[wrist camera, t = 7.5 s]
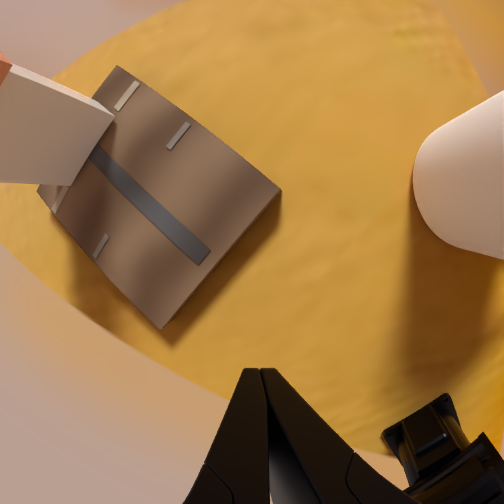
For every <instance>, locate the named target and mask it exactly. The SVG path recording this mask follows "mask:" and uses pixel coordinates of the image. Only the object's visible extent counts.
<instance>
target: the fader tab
mask: <svg viewBox="0 0 504 504" xmlns="http://www.w3.org/2000/svg"><path fill="white" fill-rule="evenodd" d="M114 118H115V116H114V115H113V114H112V113H111V112H109V111H108V110H107V109H106V108H105V107H103V106H102V105H101V104H100V103H99V102H97V101H95V100H93V99H91V98H89V97H87V96H85V95H83V94H80V93H78V92H76V91H74V90H72V89H70V88H68V87H65V86H63V85H61V84H59V83H57V82H54V81H52V80H50V79H48V78H45V77H43V76H41V75H38V74H36V73H33V72H31V71H29V70H26V69H24V68H22V67H19V66H16V65H14V64H12V63H10V61H9V60H8V59H7V58H6V57H5V56H4V55H3V54H2V52H1V51H0V182H2V183H26V184H44V185H60V186H71V184H72V183H73V181H74V179H75V177H76V176H77V174H78V172H79V171H80V169H81V167H82V166H83V164H84V162H85V161H86V159H87V158H88V156H89V154H90V153H91V151H92V150H93V148H94V147H95V145H96V144H97V142H98V141H99V139H100V138H101V136H102V135H103V133H104V132H105V130H106V129H107V128H108V126H109V125H110V123H111V122H112V120H113V119H114Z"/></svg>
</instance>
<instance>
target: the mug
mask: <svg viewBox="0 0 504 504" xmlns="http://www.w3.org/2000/svg"><path fill="white" fill-rule="evenodd" d="M413 190H414V195H415V200H416V203H417V206H418V209H419V211H420V213H421V215H422V217H423V219H424V221H425V222H426V224H427V225H428V227H429V228H430V229H431V230H432V231H433V232H434V234H436V235H437V236H438V237H439V238H440V239H442V240H443V241H445V242H446V243H448V244H450V245H452V246H455V247H458V248H461V249H465V250H469V251H473V252H476V253H480V254H484V255H488V256H491V257H495V258H499V259H502V260H504V90H503V91H501V92H500V93H498V94H496V95H494V96H493V97H491V98H489V99H487V100H486V101H484V102H482V103H480V104H479V105H477V106H475V107H474V108H472V109H470V110H468V111H467V112H465V113H463V114H461V115H460V116H458V117H456V118H455V119H453V120H451V121H449V122H448V123H446V124H444V125H442V126H441V127H439V128H438V129H436V130H435V131H434V132H432V133H431V134H430V135H429V136H428V137H427V138H426V139H425V141H424V142H423V144H422V145H421V147H420V149H419V151H418V153H417V156H416V158H415V162H414V168H413Z"/></svg>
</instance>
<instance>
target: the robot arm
mask: <svg viewBox="0 0 504 504" xmlns="http://www.w3.org/2000/svg"><path fill="white" fill-rule="evenodd" d="M445 398H446V399H445ZM444 399H445V400H444ZM388 433H389V434H388ZM383 436H384V438H385V440H386V441H387V443H388V444H389V446H390V447H391V449H392V451H393V452H394V454H395V455H396V457H397V458H398V460H399V462H400V463H401V465H402V466H403V468H404V471H405V474H406V477H407V480H408V483H409V486H410V487H408V488H406V489H405V490H403V491H402V490H400V489H399V488H397V487H396V486H395V485H393V484H392V483H391V482H389V481H388V480H386V479H385V478H384V477H383V476H381V475H380V474H379V473H378V472H377V471H375V470H374V469H373V468H372V467H371V466H370V465H369V464H368V463H366V462H365V461H364V460H363V459H362V458H361V457H360V456H359V455H358V454H357V453H356V452H355V453H354V450H353V449H352V448H351V447H350V446H349V445H348V444H347V443H346V442H345V441H344V440H343V439H342V438H341V437H340V436H339V435H338V434H337V433H336V432H335V431H334V430H333V429H332V428H331V427H330V426H329V425H328V424H327V423H326V422H325V421H324V420H323V419H322V418H321V417H320V416H319V415H318V414H317V413H316V412H315V411H314V410H313V408H312V407H311V406H310V405H309V404H308V403H307V402H306V401H305V400H304V399H303V398H302V397H301V396H300V395H299V394H298V392H297V391H296V390H295V389H294V388H293V387H292V386H291V385H290V384H289V383H288V382H287V380H286V379H285V378H284V377H283V376H282V375H281V374H280V373H279V372H278V371H277V370H276V369H275V368H261V369H260V370H259V369H258V368H244V369H243V371H242V373H241V376H240V378H239V381H238V383H237V386H236V388H235V391H234V393H233V396H232V398H231V400H230V403H229V405H228V408H227V410H226V412H225V415H224V417H223V420H222V422H221V424H220V427H219V429H218V431H217V434H216V436H215V439H214V441H213V443H212V445H211V448H210V450H209V452H208V455H207V457H206V459H205V461H204V464H203V466H202V468H201V470H200V472H199V474H198V477H197V479H196V480H195V483H194V485H193V487H192V488H191V490H190V492H189V494H188V496H187V497H186V499H185V501H184V502H183V504H270V493H271V497H272V501H273V504H504V460H503V459H502V457H501V456H500V454H499V453H498V451H497V450H496V449H495V447H494V446H493V444H492V443H491V442H490V440H489V439H488V437H487V436H486V435H485V433H484V432H482V433H481V434H480V435H479V436H478V438H477V439H476V440H474V441H473V442H472V443H471V444H470V442H469V441H468V439H467V437H466V436H465V434H464V433H463V431H462V429H461V426H460V423H459V420H458V416H457V413H456V410H455V408H454V405H453V402H452V399H451V396H450V395H449V394H448V393H444V394H442V395H441V396H440V397H438V398H437V399H435V400H434V401H432V402H431V403H429V404H428V405H426V406H424V407H423V408H421V409H420V410H418V411H416V412H415V413H413V414H412V415H410V416H408V417H406V418H405V419H403V420H401V421H400V422H398V423H396V424H394V425H392V426H391V427H389V428H387V429H385V430H384V432H383Z"/></svg>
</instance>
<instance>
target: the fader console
mask: <svg viewBox="0 0 504 504" xmlns="http://www.w3.org/2000/svg"><path fill="white" fill-rule="evenodd" d="M91 99H93V100H95V101H97V102H99V103H100V104H101V105H102V106H103V107H105V108H106V109H107V110H108V111H109V112H111V113H112V114H113V115H114V116H115V118H114V119H113V120H112V122H111V123H110V125H109V126H108V128H107V129H106V130H105V132H104V133H103V135H102V136H101V138H100V139H99V141H98V142H97V144H96V145H95V147H94V148H93V150H92V151H91V153H90V154H89V156H88V158H87V159H86V161H85V162H84V164H83V166H82V167H81V169H80V171H79V172H78V174H77V176H76V177H75V179H74V181H73V183H72V184H71V186H60V185H44V184H40V185H39V187H38V189H37V193H38V194H39V195H40V197H41V198H42V199H43V201H44V202H45V203H46V205H47V206H48V207H49V209H50V210H51V211H52V213H53V214H54V215H55V216H56V218H57V219H58V220H59V222H60V223H61V224H62V225H63V227H64V228H65V229H66V230H67V231H68V233H69V234H70V235H71V236H72V238H73V239H74V240H75V241H76V242H77V244H78V245H79V246H80V247H81V248H82V249H83V251H84V252H85V253H86V254H87V255H88V256H89V257H90V259H91V260H92V261H93V262H94V263H95V264H96V265H97V266H98V268H99V269H100V270H101V271H102V272H103V273H104V274H105V275H106V276H107V277H108V278H109V280H110V281H111V282H112V283H113V284H114V285H115V286H116V287H117V288H118V289H119V290H120V291H121V292H122V293H123V294H124V295H125V296H126V297H127V298H128V299H129V300H130V301H131V302H132V303H133V304H134V305H135V306H136V307H137V308H138V309H139V310H140V311H141V312H142V313H143V314H144V315H145V316H146V317H147V318H148V319H149V320H150V321H151V322H152V323H153V324H154V325H155V326H156V327H157V328H158V329H160V330H161V329H162V328H164V327H165V326H166V325H167V324H168V323H169V322H170V321H172V319H173V318H174V317H175V316H176V315H177V313H178V312H179V311H180V310H181V309H182V307H183V306H184V305H185V304H186V303H187V302H188V300H189V299H190V298H191V297H192V296H193V294H194V293H195V292H196V291H197V290H198V288H199V287H200V286H201V285H202V284H203V282H204V281H205V280H206V279H207V278H208V277H209V275H210V274H211V273H212V272H213V271H214V269H215V268H216V267H217V266H218V265H219V264H220V262H221V261H222V260H223V259H224V258H225V257H226V255H227V254H228V253H229V252H230V251H231V250H232V248H233V247H234V246H235V245H236V244H237V243H238V241H239V240H240V239H241V238H242V237H243V236H244V234H245V233H246V232H247V231H248V230H249V229H250V227H251V226H252V225H253V224H254V223H255V222H256V220H257V219H258V218H259V217H260V216H261V215H262V214H263V212H264V211H265V210H266V209H267V208H268V207H269V205H270V204H271V203H272V202H273V201H274V200H275V199H276V197H277V196H278V195H279V194H280V193H281V192H282V191H281V189H280V188H279V187H278V186H276V185H275V184H274V183H273V182H272V181H271V180H269V179H268V178H267V177H266V176H265V175H263V174H262V173H261V172H260V171H259V170H257V169H256V168H255V167H254V166H253V165H251V164H250V163H249V162H248V161H246V160H245V159H244V158H243V157H242V156H240V155H239V154H238V153H237V152H235V151H234V150H233V149H232V148H230V147H229V146H228V145H227V144H225V143H224V142H223V141H222V140H220V139H219V138H218V137H216V136H215V135H214V134H213V133H211V132H210V131H209V130H207V129H206V128H205V127H203V126H202V125H201V124H200V123H198V122H197V121H196V120H194V119H193V118H192V117H190V116H189V115H188V114H186V113H185V112H184V111H182V110H181V109H179V108H178V107H177V106H175V105H174V104H173V103H171V102H170V101H168V100H167V99H166V98H164V97H163V96H162V95H160V94H159V93H157V92H156V91H154V90H153V89H152V88H150V87H149V86H147V85H146V84H144V83H143V82H142V81H140V80H139V79H137V78H136V77H134V76H133V75H131V74H130V73H128V72H127V71H125V70H124V69H122V68H121V67H119V66H118V65H117V66H116V67H115V68H114V69H113V71H112V72H111V73H110V74H109V76H108V77H107V78H106V79H105V81H104V82H103V83H102V85H101V86H100V87H99V89H98V90H97V91H96V93H95V94H94V95H93V97H92V98H91Z"/></svg>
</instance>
